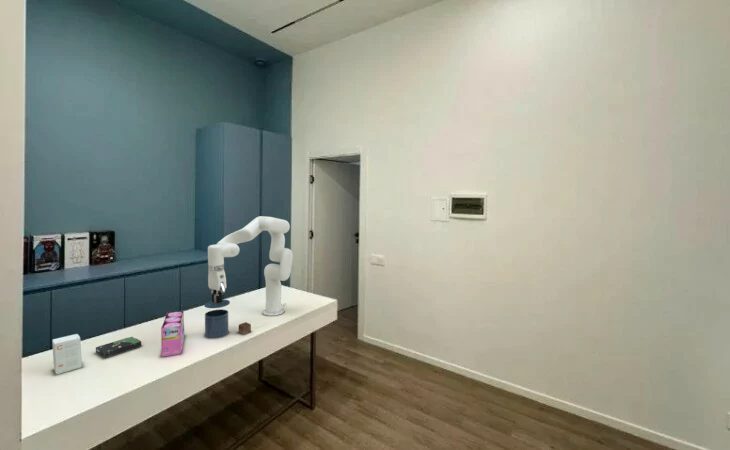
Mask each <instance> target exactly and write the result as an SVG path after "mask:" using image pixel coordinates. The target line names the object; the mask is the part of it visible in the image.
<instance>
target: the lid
mask: <svg viewBox="0 0 730 450" xmlns="http://www.w3.org/2000/svg"><path fill="white" fill-rule="evenodd" d="M216 296H217V293H216V294H214V302H212V300H209V301H207V302H205V303H204V305H203V306H204V307H205V308H207V309H220V308H224V307H227V306H229V305H230V303H231V302H230V300H228V299H222V302H221V303H216Z"/></svg>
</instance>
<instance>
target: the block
mask: <svg viewBox="0 0 730 450" xmlns="http://www.w3.org/2000/svg"><path fill="white" fill-rule="evenodd" d="M251 332H252V324H251V323H249V322H246V321H245V322H243V323H239V324H238V333H239V334H240V335H243V336H244V335H247V334H249V333H251Z"/></svg>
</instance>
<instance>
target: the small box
mask: <svg viewBox="0 0 730 450" xmlns="http://www.w3.org/2000/svg"><path fill="white" fill-rule="evenodd" d="M81 339H82V338H81V337H80V335H79V334H78V333H74V334H70V335H66V336H61V337H58V338H53V339H52V340H51V341H52V356H53V360H52V361H53V370H54V373H55V375H60V374H63V373H66V372H71V371H73V370H77V369H80V368H82V367H83V361H82V360H83V359H82V357H83V356H82V343H81Z"/></svg>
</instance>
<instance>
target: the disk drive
mask: <svg viewBox="0 0 730 450" xmlns="http://www.w3.org/2000/svg"><path fill="white" fill-rule="evenodd" d="M140 347H142V341H141V340H140V339H138V338H136V337H133V336H129V337H125V338H121V339H119V340H116V341H112V342H109V343H104V344H101V345H98V346H95V353H97V354H98V355H100V357H102V358H104V359H107V358H111V357H114V356H117V355H119V354H122V353H125V352H128V351H129V352H130V351H131V350H134V349H137V348H140Z"/></svg>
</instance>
